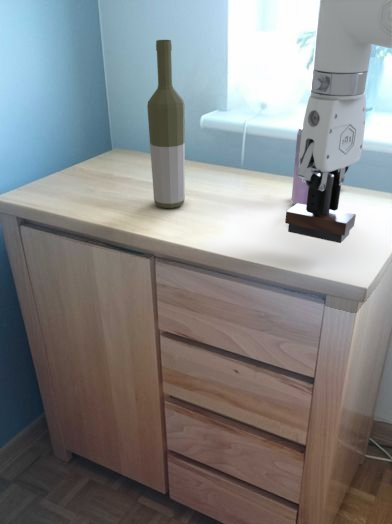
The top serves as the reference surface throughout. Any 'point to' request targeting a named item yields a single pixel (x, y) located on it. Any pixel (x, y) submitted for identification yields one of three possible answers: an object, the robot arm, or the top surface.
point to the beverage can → (298, 183)
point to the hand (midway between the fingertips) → (321, 209)
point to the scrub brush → (320, 219)
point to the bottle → (167, 134)
